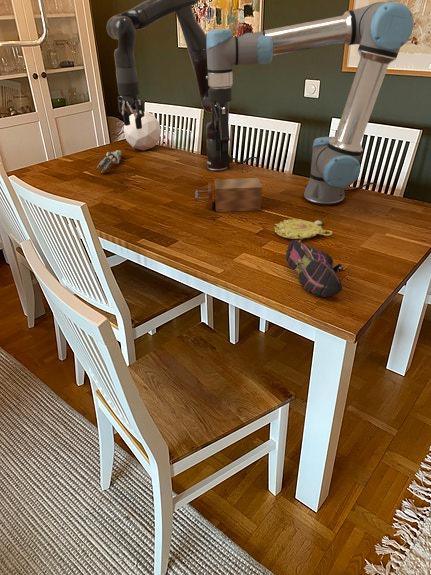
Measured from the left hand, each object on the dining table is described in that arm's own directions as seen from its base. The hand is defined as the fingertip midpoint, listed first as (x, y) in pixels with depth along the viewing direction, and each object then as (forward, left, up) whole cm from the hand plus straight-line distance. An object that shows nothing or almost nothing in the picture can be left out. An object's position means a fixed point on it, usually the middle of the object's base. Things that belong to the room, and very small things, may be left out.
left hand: (133, 126), depth 169 cm
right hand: (-14, +41, -4) cm, 44 cm away
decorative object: (-28, +68, -26) cm, 78 cm away
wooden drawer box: (-24, +36, -26) cm, 50 cm away
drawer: (-19, +33, -25) cm, 46 cm away
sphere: (-28, -59, -26) cm, 70 cm away
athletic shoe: (-12, +93, -26) cm, 97 cm away
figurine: (-3, -42, -26) cm, 49 cm away
